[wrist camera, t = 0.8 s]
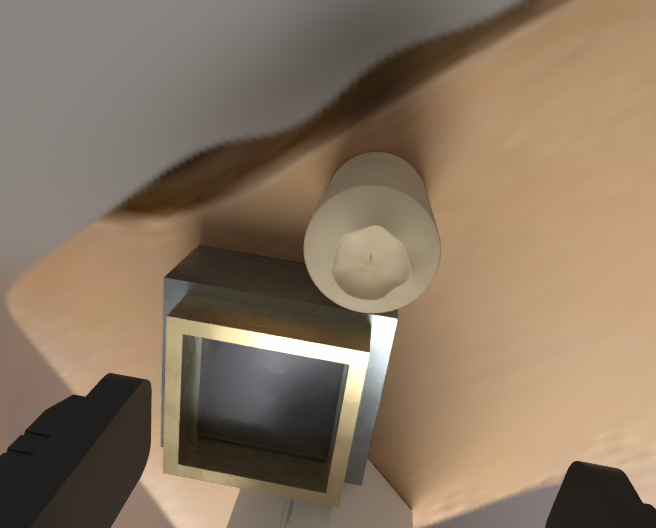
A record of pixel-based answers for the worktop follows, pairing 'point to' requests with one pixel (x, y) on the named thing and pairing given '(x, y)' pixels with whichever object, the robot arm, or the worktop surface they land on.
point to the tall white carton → (326, 508)
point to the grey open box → (267, 377)
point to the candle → (373, 235)
